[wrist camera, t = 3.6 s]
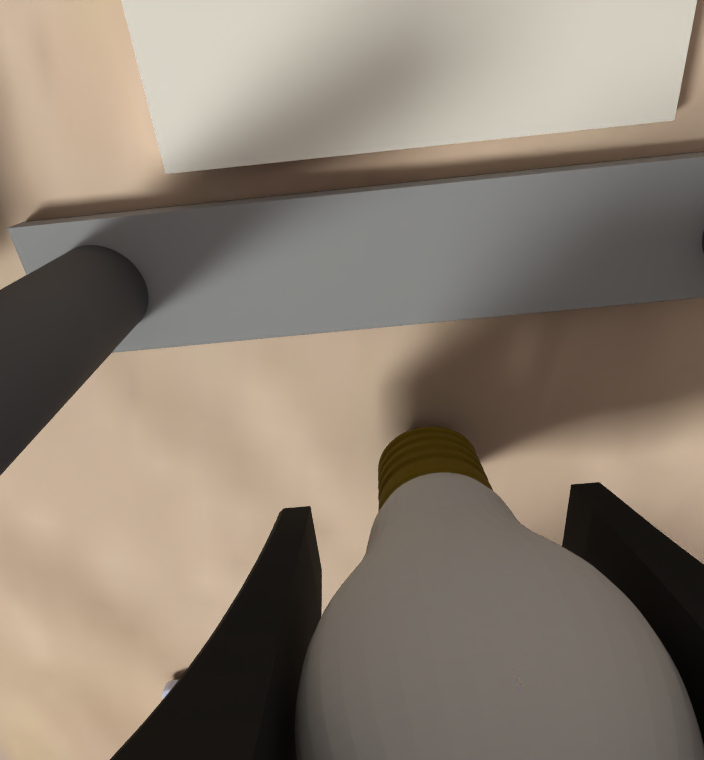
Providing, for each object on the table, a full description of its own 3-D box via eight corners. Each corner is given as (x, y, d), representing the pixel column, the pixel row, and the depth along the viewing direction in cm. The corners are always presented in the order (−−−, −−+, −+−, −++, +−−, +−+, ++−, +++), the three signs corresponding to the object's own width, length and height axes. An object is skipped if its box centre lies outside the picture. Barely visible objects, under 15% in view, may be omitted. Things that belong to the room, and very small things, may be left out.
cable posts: (781, 279, 12) (1495, 578, 5) (72, 346, 13) (-320, 709, 5) (826, 139, 11) (1984, 242, 3) (23, 222, 11) (-628, 477, 4)
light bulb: (475, 311, 12) (800, 853, 3) (561, 475, 15) (876, 1030, 6) (274, 420, 14) (149, 992, 5) (383, 552, 16) (429, 1089, 7)
